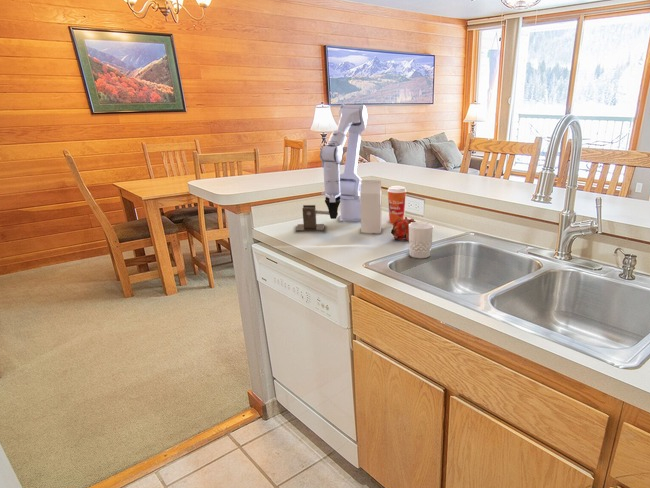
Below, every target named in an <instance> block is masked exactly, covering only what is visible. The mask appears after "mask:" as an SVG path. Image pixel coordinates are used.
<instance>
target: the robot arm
mask: <svg viewBox="0 0 650 488" xmlns="http://www.w3.org/2000/svg"><path fill="white" fill-rule="evenodd" d="M338 117H339V121H338V124H337V127H336V130H333V131H332V132H331V134H330V136H329V138H328V140H327V143H326V144H325V145H324V146H322V147H321V148H320V151H319V159H320V161H321V167H322V168H323V184H324V187H323V188H324V191H322V192H321V196H325V198H324V203H325V205H326V207H327V211H329V214H330V215H329V217H330V219H331V220H336V219H337V217H338V215H337V212H338V210H339V211H340V212H339V213H340V215H339V222H361V180H363V179H362V178H361V177H360V176H359V175H358V173H357V172H358V171H357V170H358V164H359V156H360V149H361V141H362V134H363V131H365V130H366V128H367V123H368V109H367V107H366V105H365V104H344V103H341V104H340V106H339V108H338ZM347 133H348V138H347V136H346V135H347ZM346 142H347V146H346V154H345V160H344V161H345V162H344V169H343V172H342V173H341V172H340V171H341V170H340V169H341V168H340V163H341V162H342V159H343V153H344V152H343V149H344V147H345V145H346ZM339 208H340V209H339Z"/></svg>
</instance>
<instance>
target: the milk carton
mask: <svg viewBox="0 0 650 488" xmlns="http://www.w3.org/2000/svg"><path fill="white" fill-rule="evenodd" d="M360 198H361V221H360V233H362V234H363V233H364V234H381V232H382V180H381V179H380V180H379V179H362V180H361V196H360Z"/></svg>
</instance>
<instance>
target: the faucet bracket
mask: <svg viewBox="0 0 650 488" xmlns="http://www.w3.org/2000/svg"><path fill="white" fill-rule="evenodd" d="M302 206H303V207H302V208H301V209H302V221H303V222H302V223H300V224H297V225H296V229H295V232H296V233H302V232H303V233H305V232H306V233H307V232H308V233H309V232H312V233H315V232H317V233H318V232H324V229H325V224H324V223H317V214H315V210H317V209H316V204H303V205H302ZM306 207H309V208H306Z"/></svg>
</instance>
